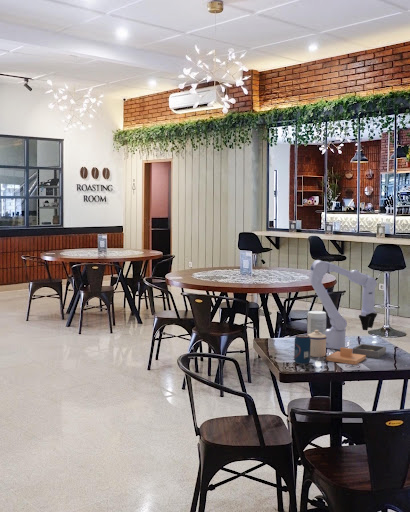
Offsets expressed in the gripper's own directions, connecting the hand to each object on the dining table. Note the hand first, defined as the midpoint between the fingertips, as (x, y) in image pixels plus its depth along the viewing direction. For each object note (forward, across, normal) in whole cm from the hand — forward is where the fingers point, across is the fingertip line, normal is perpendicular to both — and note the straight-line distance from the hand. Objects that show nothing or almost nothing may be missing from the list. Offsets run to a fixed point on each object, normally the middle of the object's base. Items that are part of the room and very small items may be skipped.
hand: (367, 328), depth 311 cm
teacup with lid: (+10, -29, +16) cm, 34 cm away
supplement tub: (+10, +2, +27) cm, 29 cm away
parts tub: (+9, -12, -5) cm, 16 cm away
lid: (+8, -29, 0) cm, 30 cm away
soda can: (+10, -46, +14) cm, 49 cm away
